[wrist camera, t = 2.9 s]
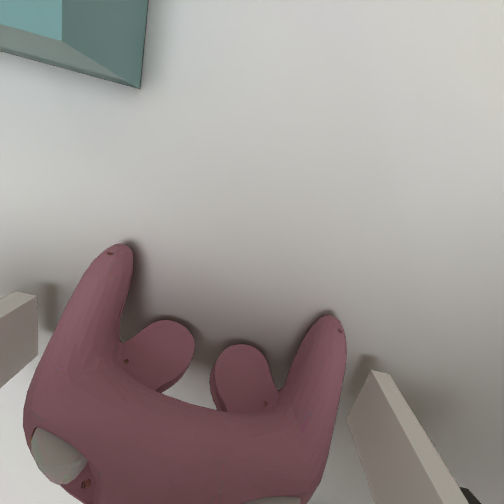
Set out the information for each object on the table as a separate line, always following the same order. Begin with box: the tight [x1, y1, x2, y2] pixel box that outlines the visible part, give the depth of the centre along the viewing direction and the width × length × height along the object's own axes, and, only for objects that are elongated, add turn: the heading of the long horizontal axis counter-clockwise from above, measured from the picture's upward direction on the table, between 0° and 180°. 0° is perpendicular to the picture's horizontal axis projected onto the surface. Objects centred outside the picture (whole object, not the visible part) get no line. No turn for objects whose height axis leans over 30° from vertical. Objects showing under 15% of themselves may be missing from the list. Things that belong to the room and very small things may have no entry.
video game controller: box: [23, 244, 347, 504], centre depth 9 cm, size 10×5×7 cm, turn 70°
